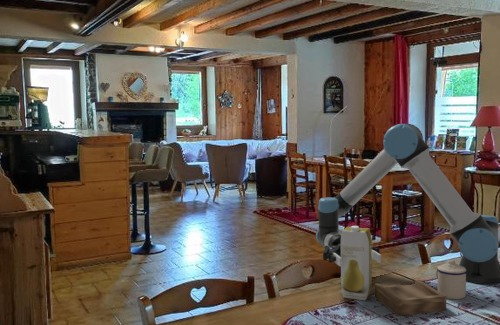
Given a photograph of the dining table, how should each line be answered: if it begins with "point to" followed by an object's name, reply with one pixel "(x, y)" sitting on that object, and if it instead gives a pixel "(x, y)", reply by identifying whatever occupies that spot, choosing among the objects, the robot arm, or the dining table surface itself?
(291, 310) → the dining table surface
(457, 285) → the teacup with lid
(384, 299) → the wooden tray
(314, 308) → the dining table surface
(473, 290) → the dining table surface
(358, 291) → the juice carton
